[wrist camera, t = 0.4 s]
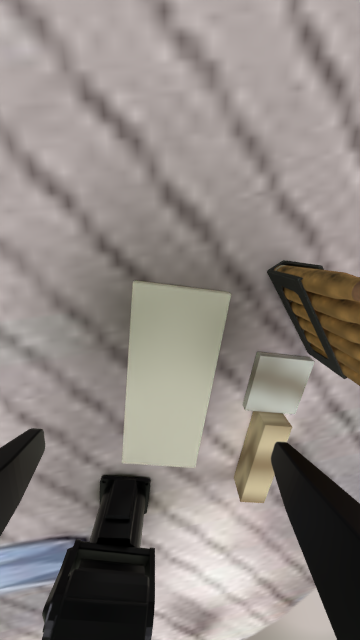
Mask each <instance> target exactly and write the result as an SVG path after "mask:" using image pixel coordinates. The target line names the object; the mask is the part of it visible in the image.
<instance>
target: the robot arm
mask: <svg viewBox="0 0 360 640" xmlns="http://www.w3.org/2000/svg"><path fill="white" fill-rule="evenodd" d="M44 450H45V439H44V431H43V429H36V428H32V429H29V430H27V431H26V432H24V433H23V434H21V435H19V436H18V437H16V438H15V439H13V440H12V441H10V442H9V443H7V444H5V445H4V446H2V447H1V448H0V536H1V534H2V532H3V531H4V529H5V527H6V526H7V524H8V522H9V520H10V519H11V517H12V515H13V514H14V512H15V510H16V508H17V506H18V505H19V503H20V501H21V499H22V497H23V495H24V493H25V491H26V489H27V487H28V484H29V482H30V480H31V478H32V476H33V474H34V472H35V470H36V468H37V465H38V463H39V461H40V459H41V457H42V455H43V453H44ZM271 464H272V467H273V471H274V474H275V477H276V480H277V484H278V487H279V490H280V493H281V497H282V500H283V503H284V506H285V509H286V512H287V514H288V517H289V520H290V522H291V525H292V527H293V530H294V532H295V535H296V537H297V540H298V542H299V545H300V547H301V550H302V552H303V555H304V557H305V560H306V562H307V565H308V568H309V570H310V573H311V575H312V578H313V580H314V583H315V585H316V588H317V590H318V592H319V595H320V598H321V600H322V603H323V605H324V608H325V610H326V613H327V615H328V618H329V620H330V623H331V625H332V628H333V630H334V633H335V635H336V638H337V640H360V503H358V502H357V501H356V500H355V499H354V498H352V497H351V496H350V495H349V494H348V493H347V492H345V491H344V490H343V489H342V488H341V487H339V486H338V485H337V484H336V483H335V482H333V481H332V480H331V479H330V478H329V477H328V476H326V475H325V474H324V473H323V472H322V471H320V470H319V469H318V468H317V467H316V466H314V465H313V464H312V463H311V462H310V461H309V460H307V459H306V458H305V457H304V456H303V455H301V454H300V453H299V452H298V451H297V450H296V449H294V448H293V447H292V446H291V445H290V444H288V443H287V442H276V443H275V445H274V448H273V451H272V455H271ZM150 483H151V480H150V479H148V478H133V477H116V476H102V477H101V480H100V507H99V510H98V514H97V517H96V521H95V524H94V528H93V531H92V535H91V538H90V542H84V541H81V540H77V539H76V541H75V544H74V546H73V547H72V548H69V549H67V552H66V555H65V558H64V561H63V564H62V566H61V569H60V572H59V574H58V576H57V579H56V581H55V583H54V586H53V588H52V590H51V592H50V595H49V597H48V599H47V602H46V604H45V607H44V609H43V613H42V615H43V620H44V628H43V632H44V634H43V637H42V640H151V636H152V628H153V619H154V604H155V548H150V549H147V548H140V546H141V536H142V527H143V518H144V514H146V513H147V507H148V499H149V491H150Z"/></svg>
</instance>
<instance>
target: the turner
mask: <svg viewBox="0 0 360 640" xmlns="http://www.w3.org/2000/svg"><path fill="white" fill-rule="evenodd" d="M314 362H315V361H313V360H312V359H311V358H310V357H301V356H292V355H282V354H273V353H263V352H257V354H256V358H255V361H254V365H253V369H252V372H251V376H250V380H249V384H248V387H247V391H246V395H245V398H244V402H243V406H244V409H245V410H248V411H253V414H252V417H251V421H250V424H249V428H248V431H247V434H246V438H245V441H244V445H243V448H242V451H241V455H240V458H239V462H238V465H237V468H236V472H235V475H234V480H235V483H236V487H237V491H238V494H239V498H240V502H255V503H264V501H265V499H266V496H267V493H268V491H269V488H270V485H271V483H272V480H273V477H274V475H275V474H274V471H273V467H272V464H271V455H272V451H273V448H274V445H275V443H276V442H287V440H288V437H289V435H290V432H291V429H292V426H291V425H290V423H289V422H288V420H287V419H286V417H285V416H284V414H295V413H296V410H297V408H298V405H299V402H300V400H301V397H302V394H303V392H304V389H305V386H306V383H307V381H308V378H309V375H310V373H311V370H312V367H313V365H314ZM283 413H284V414H283Z"/></svg>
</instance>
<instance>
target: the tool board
mask: <svg viewBox="0 0 360 640" xmlns="http://www.w3.org/2000/svg"><path fill="white" fill-rule="evenodd" d="M230 298H231V294H230V293H229V292H223V291H216V290H208V289H200V288H192V287H184V286H176V285H168V284H160V283H152V282H144V281H136V280H135V281H134V282H133V287H132V304H131V321H130V337H129V354H128V370H127V387H126V404H125V420H124V437H123V453H122V463H124V464H141V465H157V466H173V467H190V468H195V465H196V461H197V456H198V451H199V446H200V441H201V437H202V432H203V427H204V422H205V418H206V413H207V408H208V403H209V398H210V394H211V389H212V384H213V379H214V374H215V370H216V365H217V360H218V355H219V351H220V346H221V341H222V336H223V331H224V327H225V322H226V317H227V312H228V307H229V303H230Z"/></svg>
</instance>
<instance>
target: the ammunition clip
mask: <svg viewBox="0 0 360 640" xmlns="http://www.w3.org/2000/svg"><path fill="white" fill-rule="evenodd" d="M267 273H268V275H269V277H270V279H271V281H272V283H273V284H274V286H275V288H276V290H277V292H278V294H279V296H280V298H281V300H282V302H283V304H284V306H285V308H286V310H287V312H288V314H289V316H290V318H291V320H292V322H293V324H294V326H295V328H296V330H297V332H298V334H299V336H300V338H301V340H302V342H303V344H304V346H305V348H306V350H307V352H308V353H309V354H310V355H311V356H313V357H314V358H316V359H317V360H318V361H320V362H321V363H323V364H324V365H325V366H327V367H328V368H330V369H331V370H332V371H334V372H335V373H337V374H338V375H339V376H341V377H342V378H344V379H346V378H349V379H351V380H352V381H353V382H355V383H356V384H358V385H359V386H360V277H356V276H353V275H350V274H348V273H344V272H336V271H328V270H324V269H323V267H322V266H321V265H313V264H306V263H299V262H292V261H282V262H280V263H279V264H277V265H276V266H274V267H273V268H271V269H269V270H268V271H267Z"/></svg>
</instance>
